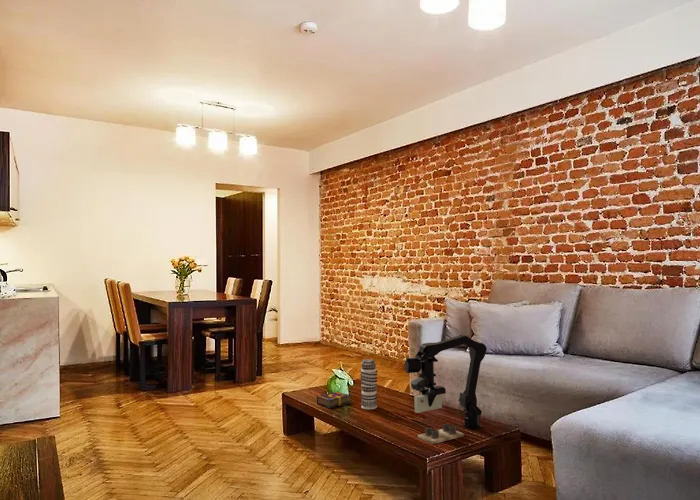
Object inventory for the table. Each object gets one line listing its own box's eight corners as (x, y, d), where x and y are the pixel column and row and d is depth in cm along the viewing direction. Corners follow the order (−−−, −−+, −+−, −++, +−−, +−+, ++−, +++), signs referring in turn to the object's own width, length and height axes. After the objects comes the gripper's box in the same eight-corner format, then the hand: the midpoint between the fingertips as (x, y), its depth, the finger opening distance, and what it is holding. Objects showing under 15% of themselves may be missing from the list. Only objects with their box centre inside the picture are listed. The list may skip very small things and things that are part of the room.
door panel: (439, 406, 235) (438, 391, 235) (443, 408, 233) (442, 393, 233) (414, 411, 228) (414, 396, 228) (418, 413, 226) (418, 397, 226)
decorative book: (316, 404, 277) (316, 395, 277) (338, 398, 287) (338, 389, 287) (329, 408, 268) (329, 399, 268) (351, 402, 279) (351, 393, 279)
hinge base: (448, 429, 232) (448, 420, 232) (463, 436, 223) (463, 426, 223) (417, 437, 222) (417, 428, 222) (432, 444, 214) (432, 434, 214)
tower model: (378, 409, 264) (377, 361, 265) (360, 409, 264) (359, 361, 265) (377, 404, 273) (376, 358, 274) (360, 404, 274) (359, 358, 274)
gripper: (401, 370, 235) (402, 403, 235) (426, 378, 219) (427, 414, 219) (420, 367, 241) (421, 399, 241) (446, 374, 225) (447, 409, 224)
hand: (428, 405), depth 231 cm, fingers closed on door panel, 2 cm apart
